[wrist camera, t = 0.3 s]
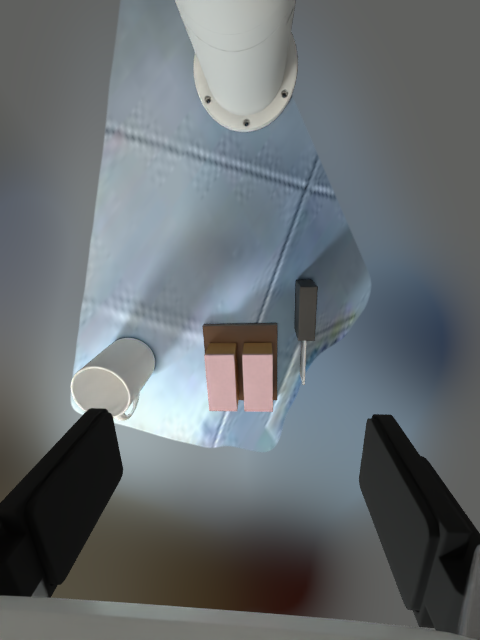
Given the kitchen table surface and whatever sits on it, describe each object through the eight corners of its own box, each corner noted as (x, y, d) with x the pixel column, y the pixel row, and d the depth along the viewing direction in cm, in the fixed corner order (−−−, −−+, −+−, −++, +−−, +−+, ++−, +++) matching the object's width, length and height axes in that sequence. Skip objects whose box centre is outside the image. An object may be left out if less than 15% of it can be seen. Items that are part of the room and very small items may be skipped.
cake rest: (209, 343, 47) (204, 355, 43) (236, 342, 46) (234, 355, 42) (213, 394, 50) (209, 411, 46) (239, 395, 50) (237, 411, 45)
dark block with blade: (295, 279, 43) (299, 287, 39) (311, 279, 43) (317, 286, 38) (293, 372, 49) (296, 388, 44) (307, 372, 48) (312, 388, 44)
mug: (121, 397, 53) (88, 439, 43) (102, 338, 49) (61, 369, 39) (165, 393, 52) (143, 436, 42) (150, 333, 48) (120, 363, 38)
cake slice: (243, 342, 46) (242, 355, 42) (271, 342, 46) (272, 355, 42) (245, 395, 50) (244, 411, 45) (271, 395, 49) (272, 411, 45)
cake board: (203, 323, 47) (202, 326, 46) (276, 322, 46) (277, 325, 45) (210, 396, 51) (209, 399, 50) (276, 396, 50) (277, 400, 50)
